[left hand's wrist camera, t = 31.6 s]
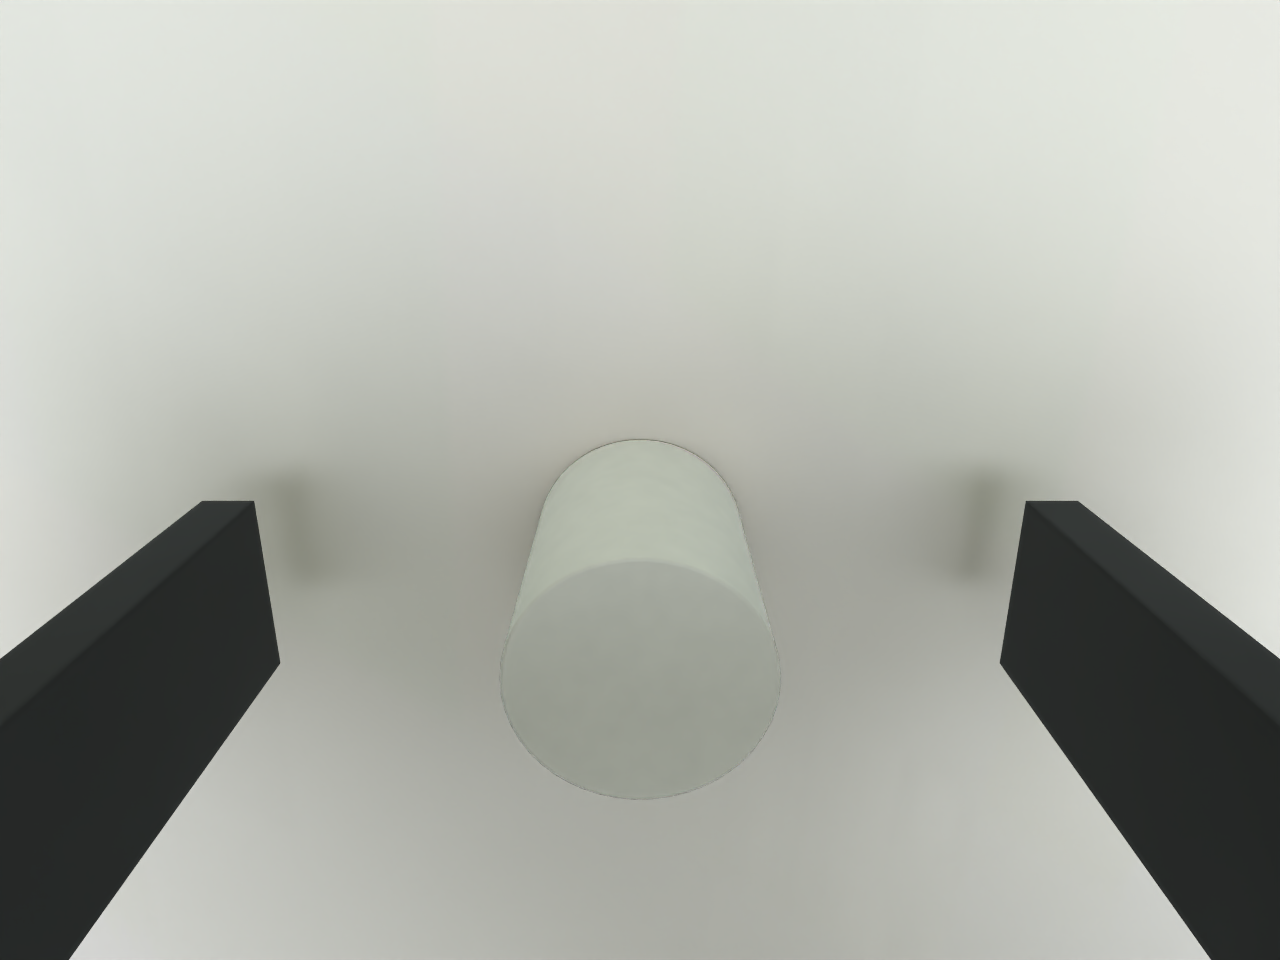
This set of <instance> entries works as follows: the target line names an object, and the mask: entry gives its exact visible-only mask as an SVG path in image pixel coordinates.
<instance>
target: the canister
mask: <svg viewBox="0 0 1280 960" xmlns="http://www.w3.org/2000/svg"><path fill="white" fill-rule="evenodd" d="M780 681H781V671H780V662H779V656H778V652H777V648H776V645H775V641H774V638H773V634H772V630H771V627H770V623H769V620H768V616H767V612H766V609H765V605H764V602H763V598H762V594H761V591H760V587H759V584H758V580H757V577H756V573H755V569H754V566H753V562H752V559H751V555H750V551H749V548H748V544H747V541H746V537H745V533H744V530H743V526H742V523H741V519H740V516H739V512H738V508H737V505H736V502H735V500H734V498H733V495H732V493H731V491H730V490H729V488H728V486H727V485H726V483H725V481H724V480H723V479H722V478H721V477H720V475H719V474H718V473H717V472H716V471H715V470H714V469H713V468H712V467H711V466H710V465H709V464H708V463H706V462H705V461H704V460H702V459H701V458H699V457H698V456H697V455H695V454H693V453H691V452H689V451H687V450H685V449H683V448H680V447H678V446H675V445H672V444H668V443H664V442H660V441H652V440H628V441H621V442H616V443H612V444H609V445H605V446H602V447H600V448H598V449H595V450H593V451H591V452H589V453H587V454H586V455H584V456H582V457H581V458H579V459H578V460H577V461H575V462H574V463H573V464H572V465H570V466H569V467H568V468H567V469H566V470H565V471H564V472H563V473H562V474H561V475H560V477H559V478H558V479H557V481H556V482H555V484H554V485H553V487H552V488H551V490H550V492H549V494H548V496H547V498H546V501H545V503H544V506H543V509H542V512H541V516H540V520H539V523H538V527H537V530H536V534H535V538H534V541H533V545H532V548H531V552H530V556H529V559H528V563H527V566H526V570H525V574H524V577H523V581H522V584H521V588H520V591H519V595H518V599H517V602H516V606H515V609H514V613H513V617H512V620H511V624H510V627H509V631H508V635H507V638H506V642H505V645H504V649H503V654H502V659H501V664H500V689H501V697H502V701H503V705H504V709H505V712H506V714H507V717H508V719H509V722H510V724H511V726H512V728H513V730H514V731H515V733H516V735H517V737H518V738H519V740H520V741H521V742H522V744H523V745H524V746H525V748H526V749H527V750H528V751H529V753H530V754H531V755H532V756H533V757H534V758H535V759H536V760H537V761H538V762H539V763H541V764H542V765H543V766H544V767H546V768H547V769H548V770H550V771H551V772H552V773H553V774H555V775H557V776H558V777H560V778H562V779H563V780H565V781H567V782H569V783H571V784H573V785H575V786H578V787H580V788H582V789H585V790H588V791H591V792H594V793H597V794H600V795H605V796H610V797H616V798H625V799H656V798H664V797H671V796H675V795H679V794H683V793H687V792H690V791H693V790H695V789H698V788H701V787H703V786H705V785H707V784H709V783H711V782H713V781H715V780H717V779H719V778H720V777H722V776H724V775H725V774H727V773H728V772H730V771H731V770H732V769H734V768H735V767H736V766H737V765H738V764H740V763H741V762H742V761H743V760H744V759H745V758H746V757H747V756H748V755H749V754H750V753H751V752H752V751H753V750H754V748H755V747H756V746H757V744H758V743H759V742H760V740H761V739H762V737H763V736H764V734H765V732H766V730H767V728H768V727H769V725H770V723H771V721H772V718H773V715H774V713H775V710H776V707H777V703H778V698H779V693H780Z"/></svg>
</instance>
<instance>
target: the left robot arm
mask: <svg viewBox="0 0 1280 960" xmlns="http://www.w3.org/2000/svg"><path fill="white" fill-rule="evenodd" d="M279 664H280V658H279V652H278V646H277V640H276V634H275V628H274V621H273V615H272V609H271V603H270V597H269V590H268V584H267V578H266V572H265V566H264V560H263V553H262V547H261V541H260V535H259V529H258V522H257V516H256V510H255V504H254V501H202V502H200V503H199V504H198V505H196V506H195V507H194V508H193V509H191V510H190V511H189V512H187V513H186V514H185V515H184V516H182V517H181V518H180V519H179V520H177V521H176V522H175V523H173V524H172V525H171V526H170V527H168V528H167V529H166V530H164V531H163V532H162V533H161V534H159V535H158V536H157V537H156V538H154V539H153V540H152V541H150V542H149V543H148V544H147V545H145V546H144V547H143V548H141V549H140V550H139V551H138V552H136V553H135V554H134V555H132V556H131V557H130V558H129V559H127V560H126V561H125V562H124V563H122V564H121V565H120V566H118V567H117V568H116V569H115V570H113V571H112V572H111V573H109V574H108V575H107V576H106V577H104V578H103V579H102V580H101V581H99V582H98V583H97V584H95V585H94V586H93V587H92V588H90V589H89V590H88V591H86V592H85V593H84V594H83V595H81V596H80V597H79V598H78V599H76V600H75V601H74V602H72V603H71V604H70V605H69V606H67V607H66V608H65V609H63V610H62V611H61V612H60V613H58V614H57V615H56V616H55V617H53V618H52V619H51V620H49V621H48V622H47V623H46V624H44V625H43V626H42V627H40V628H39V629H38V630H37V631H35V632H34V633H33V634H32V635H30V636H29V637H28V638H26V639H25V640H24V641H23V642H21V643H20V644H19V645H17V646H16V647H15V648H14V649H12V650H11V651H10V652H9V653H7V654H6V655H5V656H3V657H2V658H1V659H0V960H69V959H70V957H71V956H72V955H73V953H74V952H75V950H76V949H77V948H78V946H79V945H80V943H81V942H82V941H83V939H84V938H85V936H86V935H87V934H88V932H89V931H90V929H91V928H92V927H93V925H94V924H95V922H96V921H97V920H98V918H99V917H100V915H101V914H102V912H103V911H104V910H105V908H106V907H107V905H108V904H109V903H110V901H111V900H112V898H113V897H114V896H115V894H116V893H117V891H118V890H119V889H120V887H121V886H122V884H123V883H124V882H125V880H126V879H127V877H128V876H129V875H130V873H131V872H132V870H133V869H134V868H135V866H136V865H137V863H138V862H139V861H140V859H141V858H142V856H143V855H144V854H145V852H146V851H147V849H148V848H149V847H150V845H151V844H152V842H153V841H154V840H155V838H156V837H157V835H158V834H159V833H160V831H161V830H162V828H163V827H164V826H165V824H166V823H167V821H168V820H169V819H170V817H171V816H172V814H173V813H174V811H175V810H176V809H177V807H178V806H179V804H180V803H181V802H182V800H183V799H184V797H185V796H186V795H187V793H188V792H189V790H190V789H191V788H192V786H193V785H194V783H195V782H196V781H197V779H198V778H199V776H200V775H201V774H202V772H203V771H204V769H205V768H206V767H207V765H208V764H209V762H210V761H211V760H212V758H213V757H214V755H215V754H216V753H217V751H218V750H219V748H220V747H221V746H222V744H223V743H224V741H225V740H226V739H227V737H228V736H229V734H230V733H231V732H232V730H233V729H234V727H235V726H236V725H237V723H238V722H239V720H240V719H241V717H242V716H243V715H244V713H245V712H246V710H247V709H248V708H249V706H250V705H251V703H252V702H253V701H254V699H255V698H256V696H257V695H258V694H259V692H260V691H261V689H262V688H263V687H264V685H265V684H266V682H267V681H268V680H269V678H270V677H271V675H272V674H273V673H274V671H275V670H276V668H277V667H278V666H279ZM1000 664H1001V666H1002V667H1003V668H1004V670H1005V671H1006V673H1007V674H1008V675H1009V677H1010V678H1011V680H1012V681H1013V682H1014V684H1015V685H1016V687H1017V688H1018V689H1019V691H1020V692H1021V694H1022V695H1023V696H1024V698H1025V699H1026V701H1027V702H1028V703H1029V705H1030V706H1031V708H1032V709H1033V710H1034V712H1035V713H1036V715H1037V716H1038V717H1039V719H1040V720H1041V722H1042V723H1043V724H1044V726H1045V727H1046V729H1047V730H1048V732H1049V733H1050V734H1051V736H1052V737H1053V739H1054V740H1055V741H1056V743H1057V744H1058V746H1059V747H1060V748H1061V750H1062V751H1063V753H1064V754H1065V755H1066V757H1067V758H1068V760H1069V761H1070V762H1071V764H1072V765H1073V767H1074V768H1075V769H1076V771H1077V772H1078V774H1079V775H1080V776H1081V778H1082V779H1083V781H1084V782H1085V783H1086V785H1087V786H1088V788H1089V789H1090V790H1091V792H1092V793H1093V795H1094V796H1095V797H1096V799H1097V800H1098V802H1099V803H1100V804H1101V806H1102V807H1103V809H1104V810H1105V811H1106V813H1107V814H1108V816H1109V817H1110V818H1111V820H1112V821H1113V823H1114V824H1115V825H1116V827H1117V828H1118V830H1119V831H1120V833H1121V834H1122V835H1123V837H1124V838H1125V840H1126V841H1127V842H1128V844H1129V845H1130V847H1131V848H1132V849H1133V851H1134V852H1135V854H1136V855H1137V856H1138V858H1139V859H1140V861H1141V862H1142V863H1143V865H1144V866H1145V868H1146V869H1147V870H1148V872H1149V873H1150V875H1151V876H1152V877H1153V879H1154V880H1155V882H1156V883H1157V884H1158V886H1159V887H1160V889H1161V890H1162V891H1163V893H1164V894H1165V896H1166V897H1167V898H1168V900H1169V901H1170V903H1171V904H1172V905H1173V907H1174V908H1175V910H1176V911H1177V912H1178V914H1179V915H1180V917H1181V918H1182V919H1183V921H1184V922H1185V924H1186V925H1187V926H1188V928H1189V929H1190V931H1191V932H1192V934H1193V935H1194V936H1195V938H1196V939H1197V941H1198V942H1199V943H1200V945H1201V946H1202V948H1203V949H1204V950H1205V952H1206V953H1207V955H1208V956H1209V957H1210V959H1211V960H1280V659H1279V658H1278V657H1277V656H1275V655H1274V654H1273V653H1272V652H1270V651H1269V650H1268V649H1266V648H1265V647H1264V646H1263V645H1261V644H1260V643H1259V642H1257V641H1256V640H1255V639H1254V638H1252V637H1251V636H1250V635H1249V634H1247V633H1246V632H1245V631H1243V630H1242V629H1241V628H1240V627H1238V626H1237V625H1236V624H1234V623H1233V622H1232V621H1231V620H1229V619H1228V618H1227V617H1225V616H1224V615H1223V614H1222V613H1220V612H1219V611H1218V610H1217V609H1215V608H1214V607H1213V606H1211V605H1210V604H1209V603H1208V602H1206V601H1205V600H1204V599H1202V598H1201V597H1200V596H1199V595H1197V594H1196V593H1195V592H1194V591H1192V590H1191V589H1190V588H1188V587H1187V586H1186V585H1185V584H1183V583H1182V582H1181V581H1179V580H1178V579H1177V578H1176V577H1174V576H1173V575H1172V574H1171V573H1169V572H1168V571H1167V570H1165V569H1164V568H1163V567H1162V566H1160V565H1159V564H1158V563H1156V562H1155V561H1154V560H1153V559H1151V558H1150V557H1149V556H1148V555H1146V554H1145V553H1144V552H1142V551H1141V550H1140V549H1139V548H1137V547H1136V546H1135V545H1133V544H1132V543H1131V542H1130V541H1128V540H1127V539H1126V538H1125V537H1123V536H1122V535H1121V534H1119V533H1118V532H1117V531H1116V530H1114V529H1113V528H1112V527H1110V526H1109V525H1108V524H1107V523H1105V522H1104V521H1103V520H1102V519H1100V518H1099V517H1098V516H1096V515H1095V514H1094V513H1093V512H1091V511H1090V510H1089V509H1087V508H1086V507H1085V506H1084V505H1082V504H1081V503H1080V502H1078V501H1026V504H1025V510H1024V516H1023V523H1022V529H1021V535H1020V541H1019V547H1018V553H1017V560H1016V566H1015V572H1014V578H1013V584H1012V591H1011V597H1010V603H1009V609H1008V615H1007V621H1006V628H1005V634H1004V640H1003V646H1002V652H1001V659H1000Z"/></svg>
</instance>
